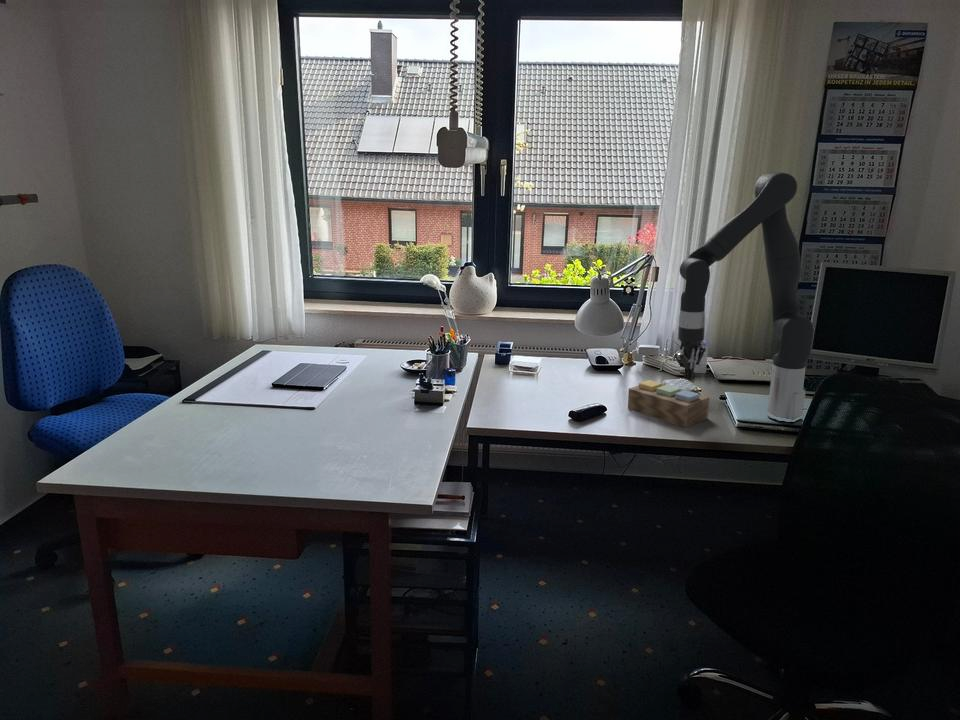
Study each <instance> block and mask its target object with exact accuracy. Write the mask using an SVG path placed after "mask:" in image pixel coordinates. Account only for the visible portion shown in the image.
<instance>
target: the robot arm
mask: <svg viewBox="0 0 960 720" xmlns="http://www.w3.org/2000/svg"><path fill="white" fill-rule="evenodd" d="M797 191H798V183H797V179H796V178H795V177H794V176H793V175H792V174H790V173H787V172H767V173H764V174H763V175H761V176H760V177H758V179H757V180H756V183H755V185H754V200H753V201H752V202H751V203H750V204H749V205H748V206H747V207H746V208H745V209H743V210H742V211H741V212H739V213H738V214H737V215H735V216H734V217H732V218H731V219H729V220H728V221H727V222H725V223H724V224H723V225H722V226H720V228H719V229H717V230H716V231H715V233H713V234H712V235H711V236H710V237H709V238H708V239H707V240H706V241H705V243H704V244H703V245H701V246H700V247H698V248H696V249H695V250H694V251H693V252H691V253H690V254H689V255H688V256H687V257H686V258H684V260H682V262H681V264H680V266H679V274H680V276H681V278H682V279H684V280H685V284H684V291H682V292H681V295H680V309H679V314H678V316H679V317H678V329H677V330H678V331H677V332H678V334H677V336H678V337H677V339H678V340H679V341H680V346H679V351H678V353H677V352H676V353H674V357H675V360H676V361H677V363H678V365H679V368H680V367H683V368H685V372H683V373H684V375H683V377H684V378H683V379H684V380H686V381H689V382H690V381H693V380H694V376H695V373H694V368H695V367H696V365H699V363H700V361H701V358H702V356H703V354H704V352H705V348H704V347H702V346H701V341H703V340H705V331H706V329H705V326H706V312H705V311H706V296H707V295H706V294H707V292H708V288H709V283H710V277H711V271H710V267H711V266H712V265H713V264H715V263H717V262H720V261H723V259H725V257H727V255H729V254H730V253H731V252H732V251H733V250H734V249H735V248H736V247H737V246H738V245H739V244H740V243H741V242H742V241H743V240H744V239H745V238H746V237H747V236H748V235H749V234H750V233H751V232H753V231H754V230H755V229H756V228H757V227H758V226H759V225H761V227H762V228H761V229H762V240H763V245H764V258H765V264H766V271H767V277H768V283H769V284H768V285H769V290H770V297H771V303H772V304H771V305H772V310H771V311H772V312H771V313H772V320H771V321H772V330H773V332H774V335H775V336H776V337H777V338H778V339H779V340H780V345H779V351H778V352H777V353H775V354H774V355H773V359H772V368H771V378H770V384H769V385H770V386H769V396H768V403H767V404H768V405H767V406H768V407H767V413H768V412H769V413H770V414H772V415H774V416H776V417H780V418H786V419H791V420H794V419H796V418H798V417H800V416H802V417H803V415H804V407H805V399H806V398H805V397H806V390H805V389H804V382H805V375H806V366H807V362H808V360H809V359H810V356H811V350H812V345H813V338H814V325H813V322H812V321H811V319H809V318H808V317H807V316H804V315H802V314H801V313H800V307H799V304H798V303H799V301H798V296H797V295H798V293H797V291H798V286H799V283H800V279H801V274H802V262H801V261H802V260H801V253H800V247H799V244H798V241H797V239H796V236H795V234H794V232H793V229H792V228H791V225H790V224H789V220H788V217H787V216H788V215H787V208H786V205H787V204H789V203H790V202H791V201H792V200H793V199H794V197H795V195H796V193H797Z"/></svg>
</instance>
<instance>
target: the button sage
mask: <svg viewBox="0 0 960 720" xmlns="http://www.w3.org/2000/svg"><path fill="white" fill-rule="evenodd" d="M664 385H665V386H662V387H659V388H657V391H656V393H659V394H663V395H666V396H673V395H675V393H678V392H680V389H681V388H679V387H675V386H672V385H669V384H664Z"/></svg>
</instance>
